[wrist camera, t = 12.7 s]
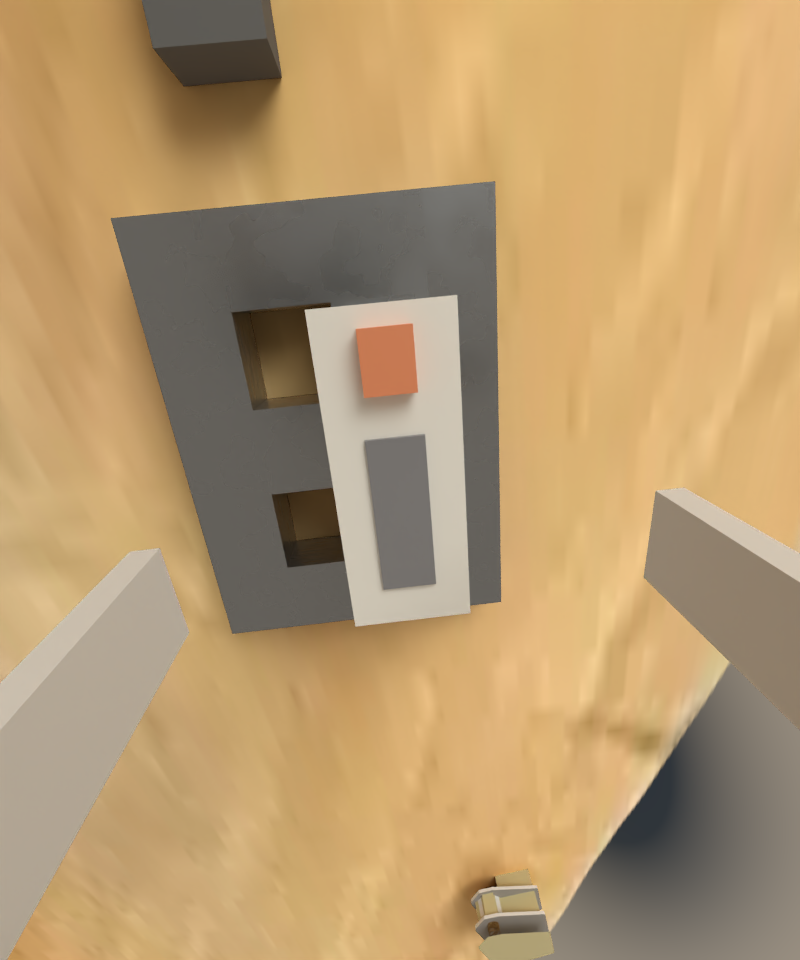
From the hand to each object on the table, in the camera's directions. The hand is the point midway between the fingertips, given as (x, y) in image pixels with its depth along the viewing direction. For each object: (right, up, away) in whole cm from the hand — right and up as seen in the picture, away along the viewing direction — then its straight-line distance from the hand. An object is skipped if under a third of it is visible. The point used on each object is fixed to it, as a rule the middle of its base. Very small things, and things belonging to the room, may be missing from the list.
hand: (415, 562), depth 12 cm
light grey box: (-1, +6, +16) cm, 17 cm away
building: (+11, -41, +35) cm, 55 cm away
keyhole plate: (-4, +5, +16) cm, 17 cm away
